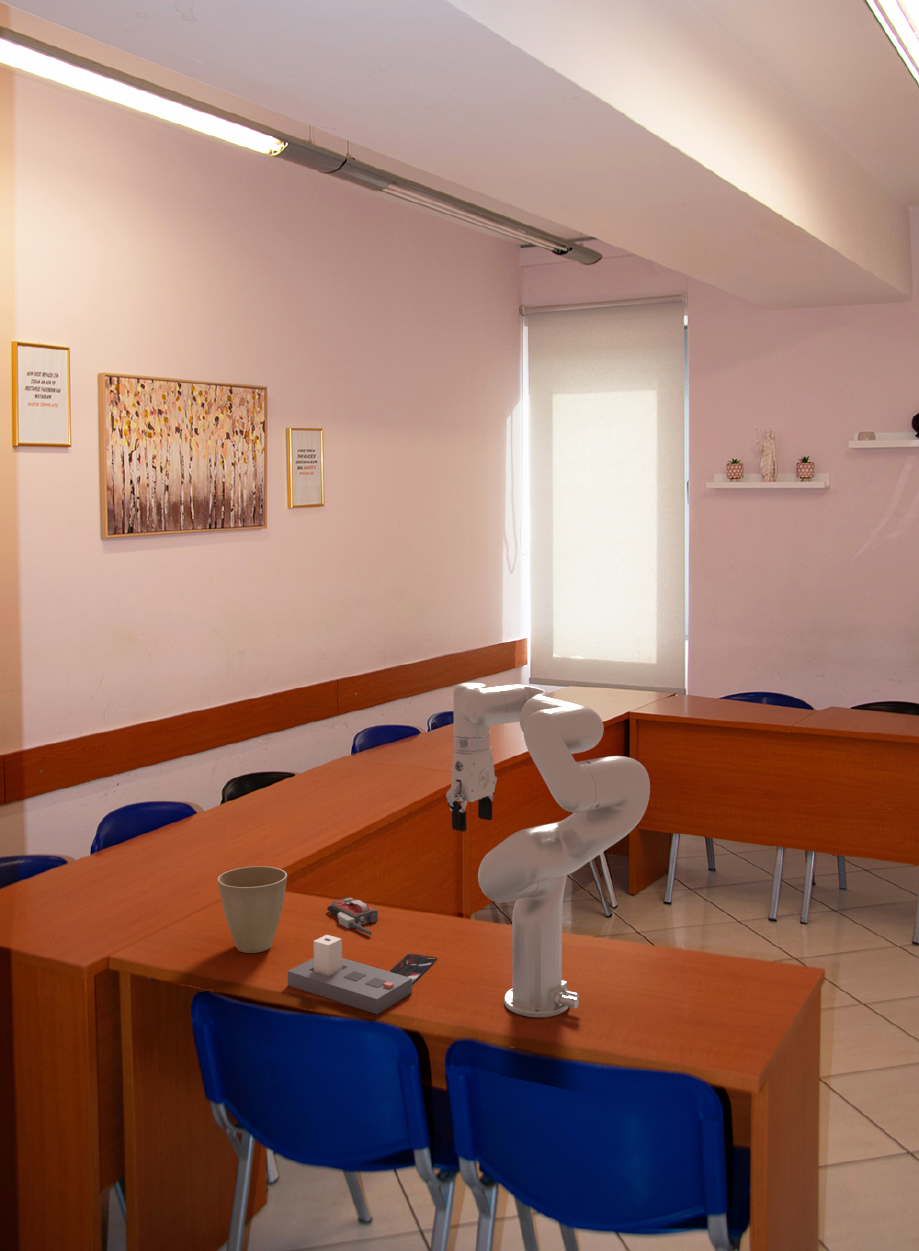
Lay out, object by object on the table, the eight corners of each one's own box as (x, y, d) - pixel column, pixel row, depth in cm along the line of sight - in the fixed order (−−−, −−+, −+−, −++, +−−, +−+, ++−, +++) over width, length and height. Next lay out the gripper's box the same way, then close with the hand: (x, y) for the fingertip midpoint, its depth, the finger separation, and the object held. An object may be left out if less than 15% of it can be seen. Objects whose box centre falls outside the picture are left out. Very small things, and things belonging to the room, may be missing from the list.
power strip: (412, 992, 208) (411, 975, 207) (377, 1014, 198) (376, 995, 198) (324, 966, 220) (324, 949, 220) (287, 985, 211) (287, 968, 211)
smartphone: (439, 957, 224) (411, 985, 210) (439, 960, 224) (411, 988, 210) (408, 952, 227) (378, 980, 213) (408, 955, 227) (378, 983, 213)
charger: (342, 981, 213) (341, 937, 212) (329, 988, 210) (328, 944, 209) (327, 976, 215) (326, 933, 214) (314, 984, 212) (313, 940, 211)
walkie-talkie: (319, 915, 251) (366, 940, 235) (319, 897, 250) (366, 921, 235) (350, 907, 256) (398, 931, 241) (350, 889, 256) (398, 912, 240)
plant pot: (297, 952, 228) (295, 880, 226) (229, 965, 221) (227, 891, 220) (277, 929, 241) (275, 861, 240) (212, 940, 235) (210, 871, 233)
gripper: (463, 752, 207) (464, 837, 208) (509, 738, 221) (509, 817, 222) (432, 748, 211) (433, 831, 212) (479, 734, 225) (480, 812, 227)
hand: (472, 824), depth 217 cm, fingers open, 9 cm apart
